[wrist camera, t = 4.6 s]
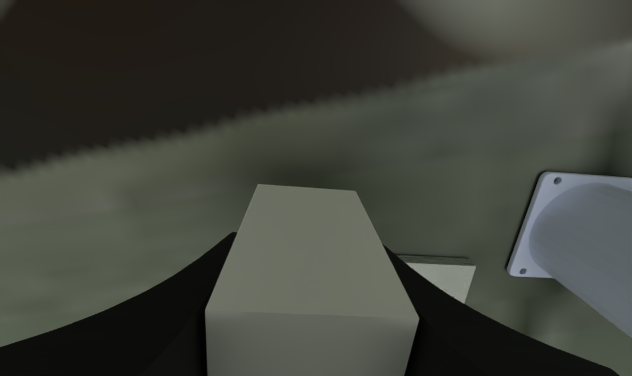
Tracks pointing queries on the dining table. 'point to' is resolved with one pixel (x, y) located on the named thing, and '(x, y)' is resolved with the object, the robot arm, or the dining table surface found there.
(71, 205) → the dining table surface
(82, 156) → the dining table surface
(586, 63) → the dining table surface
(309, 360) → the plug
